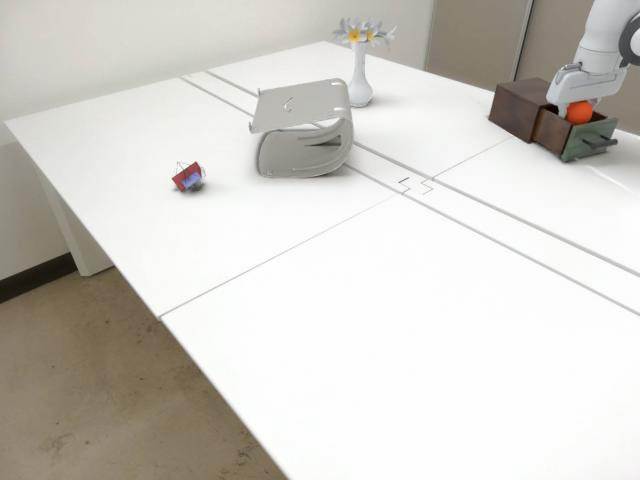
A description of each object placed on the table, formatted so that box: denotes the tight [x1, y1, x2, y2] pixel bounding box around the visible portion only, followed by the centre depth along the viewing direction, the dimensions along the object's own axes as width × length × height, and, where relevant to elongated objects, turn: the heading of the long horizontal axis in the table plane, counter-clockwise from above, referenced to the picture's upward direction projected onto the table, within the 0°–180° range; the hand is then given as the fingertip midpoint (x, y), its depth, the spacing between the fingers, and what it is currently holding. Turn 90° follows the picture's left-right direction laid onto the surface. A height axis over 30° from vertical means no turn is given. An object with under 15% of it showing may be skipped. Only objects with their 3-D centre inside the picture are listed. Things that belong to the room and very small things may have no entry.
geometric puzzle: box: [170, 160, 207, 192], centre depth 104 cm, size 7×7×8 cm
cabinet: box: [487, 76, 555, 145], centre depth 127 cm, size 17×15×11 cm
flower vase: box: [331, 14, 398, 108], centre depth 137 cm, size 13×18×25 cm
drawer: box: [532, 105, 620, 162], centre depth 116 cm, size 20×13×9 cm
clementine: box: [565, 100, 593, 127], centre depth 115 cm, size 8×7×7 cm
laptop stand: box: [248, 77, 355, 179], centre depth 114 cm, size 26×24×16 cm
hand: (574, 115), depth 115 cm, fingers closed on clementine, 7 cm apart
